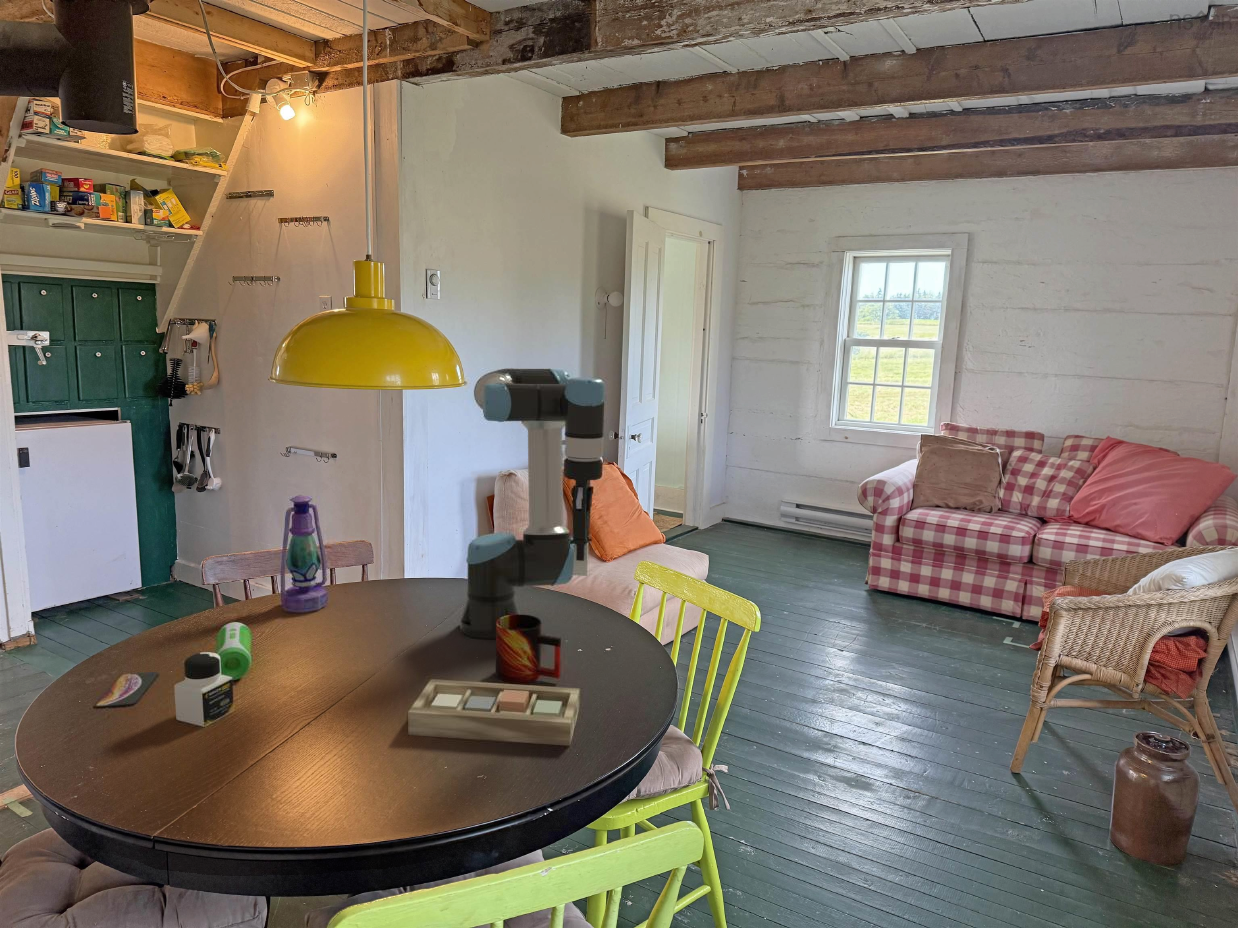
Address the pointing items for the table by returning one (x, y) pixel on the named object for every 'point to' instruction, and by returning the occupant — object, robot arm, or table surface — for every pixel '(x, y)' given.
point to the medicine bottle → (203, 691)
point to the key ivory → (447, 701)
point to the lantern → (303, 559)
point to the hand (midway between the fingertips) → (580, 574)
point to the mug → (523, 650)
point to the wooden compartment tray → (494, 714)
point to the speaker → (234, 649)
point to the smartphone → (127, 690)
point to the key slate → (480, 704)
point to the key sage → (548, 708)
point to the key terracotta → (514, 701)
